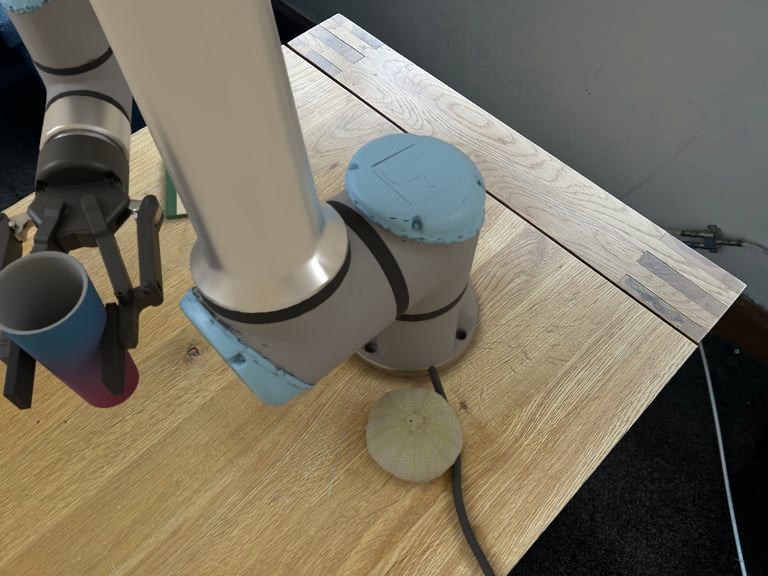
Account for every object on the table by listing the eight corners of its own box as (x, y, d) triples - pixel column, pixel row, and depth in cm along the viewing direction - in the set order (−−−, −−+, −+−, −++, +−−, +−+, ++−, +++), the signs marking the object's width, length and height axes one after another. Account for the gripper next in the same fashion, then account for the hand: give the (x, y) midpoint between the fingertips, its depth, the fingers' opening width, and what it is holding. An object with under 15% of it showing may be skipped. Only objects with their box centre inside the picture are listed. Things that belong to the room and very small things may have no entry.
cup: (158, 350, 60) (101, 254, 47) (137, 421, 56) (68, 338, 43) (85, 343, 60) (8, 246, 47) (58, 414, 56) (-33, 329, 44)
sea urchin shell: (420, 509, 59) (378, 443, 57) (378, 481, 66) (339, 421, 64) (489, 442, 63) (452, 377, 60) (442, 422, 70) (407, 363, 67)
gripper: (200, 175, 64) (208, 394, 52) (-4, 200, 62) (-45, 434, 50) (181, 117, 58) (186, 351, 46) (-47, 142, 56) (-106, 394, 44)
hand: (65, 394), depth 48 cm, fingers closed on cup, 6 cm apart
